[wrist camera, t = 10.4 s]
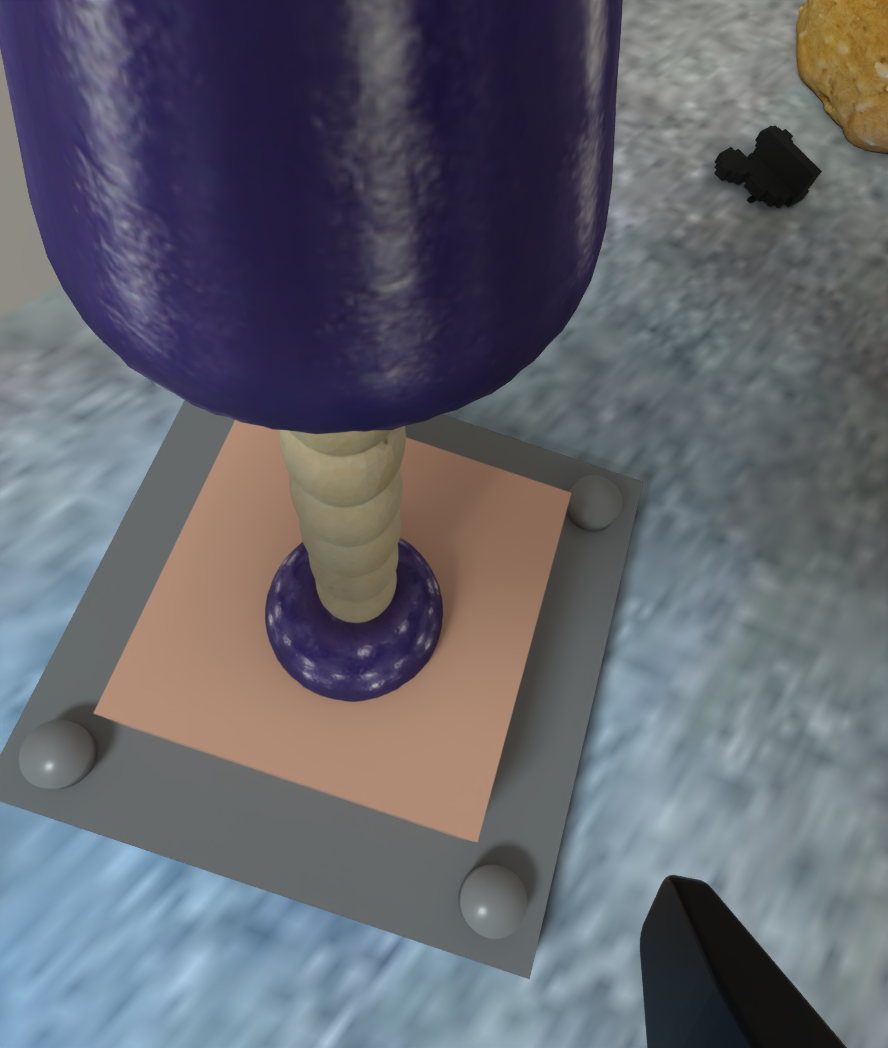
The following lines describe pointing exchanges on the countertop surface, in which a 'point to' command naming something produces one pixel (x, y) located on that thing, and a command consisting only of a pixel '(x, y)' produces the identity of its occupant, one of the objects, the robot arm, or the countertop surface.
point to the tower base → (304, 821)
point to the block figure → (770, 169)
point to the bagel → (848, 65)
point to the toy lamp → (323, 243)
